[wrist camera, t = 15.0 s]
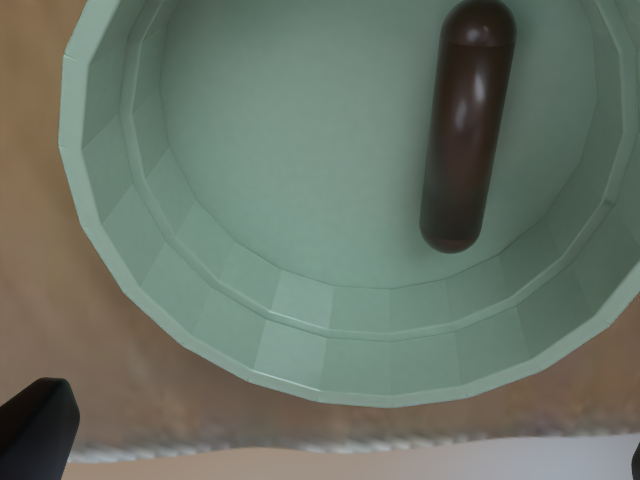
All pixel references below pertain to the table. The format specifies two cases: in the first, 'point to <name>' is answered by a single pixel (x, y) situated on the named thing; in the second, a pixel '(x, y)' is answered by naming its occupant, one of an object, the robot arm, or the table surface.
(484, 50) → the stick
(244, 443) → the table surface
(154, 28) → the bowl
